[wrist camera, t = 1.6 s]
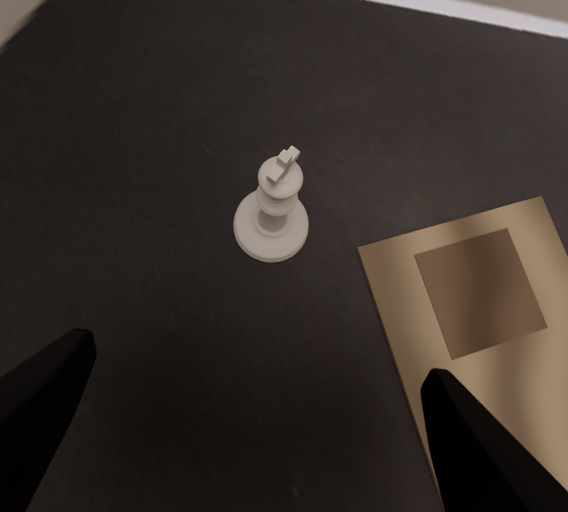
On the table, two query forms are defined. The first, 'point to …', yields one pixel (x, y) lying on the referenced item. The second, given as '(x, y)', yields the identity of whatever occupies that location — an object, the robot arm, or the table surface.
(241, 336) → the table surface
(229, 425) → the table surface
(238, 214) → the chess piece
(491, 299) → the board
